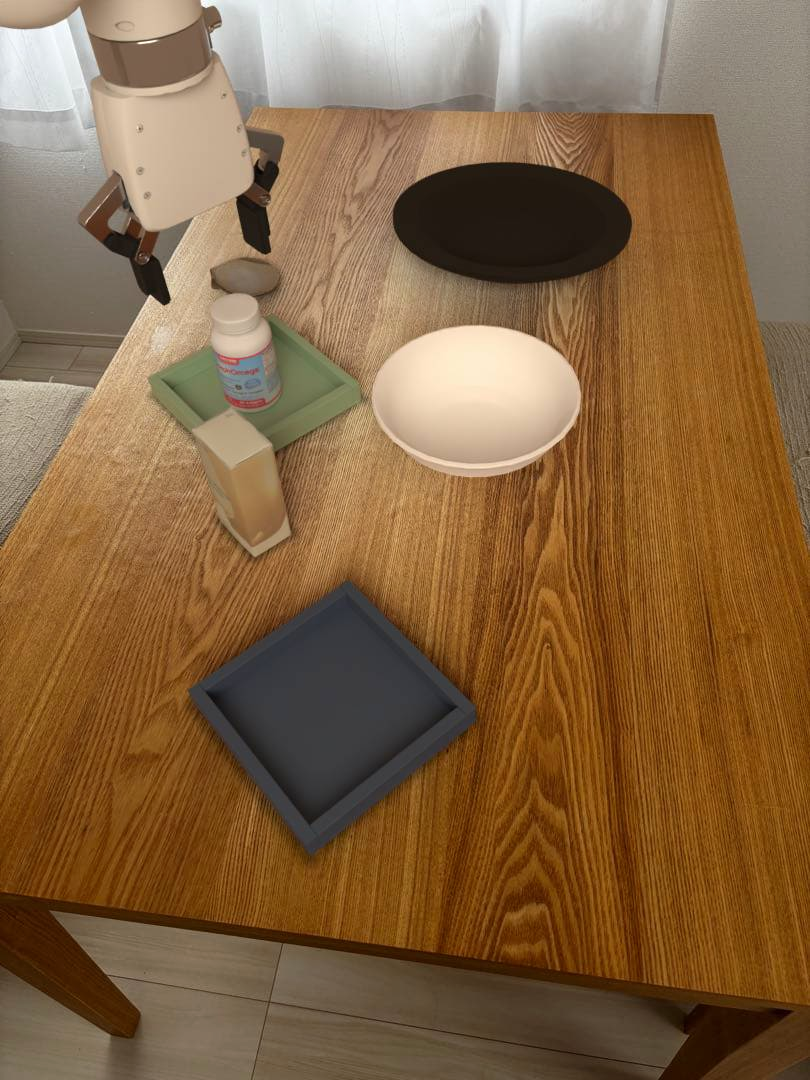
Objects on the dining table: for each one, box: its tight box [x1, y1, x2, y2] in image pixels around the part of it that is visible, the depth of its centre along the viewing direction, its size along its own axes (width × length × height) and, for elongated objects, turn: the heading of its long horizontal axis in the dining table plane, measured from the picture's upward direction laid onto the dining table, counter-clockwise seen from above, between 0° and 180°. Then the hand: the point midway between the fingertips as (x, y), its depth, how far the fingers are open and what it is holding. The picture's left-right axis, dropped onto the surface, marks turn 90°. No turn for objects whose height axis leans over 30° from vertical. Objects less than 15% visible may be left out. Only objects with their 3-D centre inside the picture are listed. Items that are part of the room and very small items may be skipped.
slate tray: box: [187, 579, 477, 857], centre depth 68 cm, size 16×16×2 cm
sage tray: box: [147, 312, 363, 453], centre depth 91 cm, size 16×16×2 cm
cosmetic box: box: [192, 407, 292, 558], centre depth 76 cm, size 6×4×12 cm
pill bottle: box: [209, 293, 282, 413], centre depth 87 cm, size 6×6×11 cm
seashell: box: [209, 256, 281, 298], centre depth 103 cm, size 8×3×8 cm
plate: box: [392, 161, 633, 285], centre depth 104 cm, size 28×24×6 cm
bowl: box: [370, 324, 582, 478], centre depth 84 cm, size 20×20×6 cm
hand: (209, 271), depth 71 cm, fingers open, 9 cm apart
